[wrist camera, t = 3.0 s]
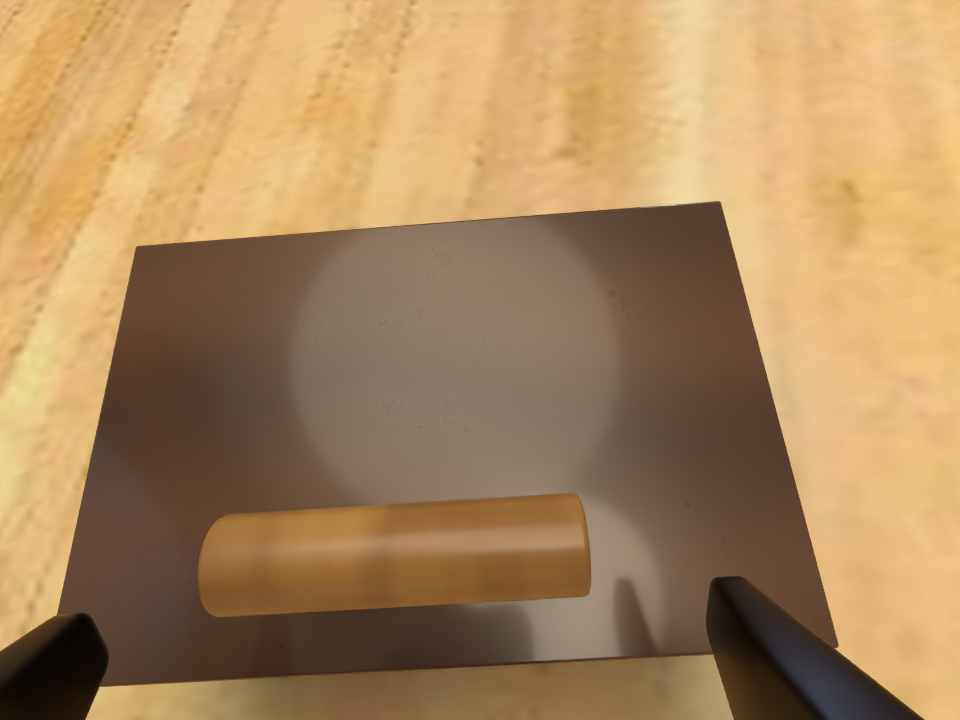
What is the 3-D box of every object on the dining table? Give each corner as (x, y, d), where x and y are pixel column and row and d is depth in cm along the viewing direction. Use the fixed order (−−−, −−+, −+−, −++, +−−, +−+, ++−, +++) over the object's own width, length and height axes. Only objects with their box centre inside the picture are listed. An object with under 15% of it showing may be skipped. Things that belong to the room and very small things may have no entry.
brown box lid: (818, 643, 11) (1017, 685, 7) (70, 683, 12) (-199, 746, 7) (710, 218, 15) (792, 70, 11) (153, 261, 15) (12, 136, 11)
